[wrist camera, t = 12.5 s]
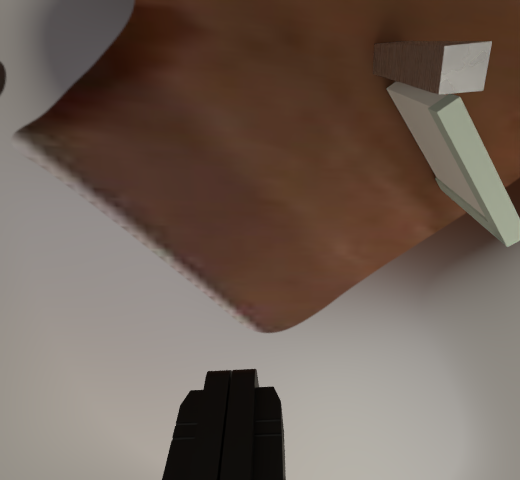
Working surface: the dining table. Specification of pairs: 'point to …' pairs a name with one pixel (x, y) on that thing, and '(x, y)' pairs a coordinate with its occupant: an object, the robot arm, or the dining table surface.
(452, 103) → the beige and green panel
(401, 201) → the dining table surface
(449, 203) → the dining table surface
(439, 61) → the post
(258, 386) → the robot arm
